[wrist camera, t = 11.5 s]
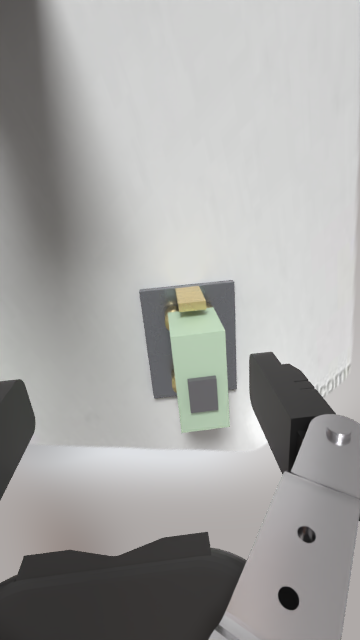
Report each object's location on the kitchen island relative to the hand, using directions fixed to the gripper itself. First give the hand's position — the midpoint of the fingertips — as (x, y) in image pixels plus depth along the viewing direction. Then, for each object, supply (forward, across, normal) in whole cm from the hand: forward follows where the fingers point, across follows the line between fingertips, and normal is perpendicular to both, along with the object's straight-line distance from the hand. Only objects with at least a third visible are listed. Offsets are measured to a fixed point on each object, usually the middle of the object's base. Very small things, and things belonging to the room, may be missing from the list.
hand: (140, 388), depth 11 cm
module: (+26, -4, +13) cm, 29 cm away
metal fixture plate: (+30, -4, +13) cm, 33 cm away
